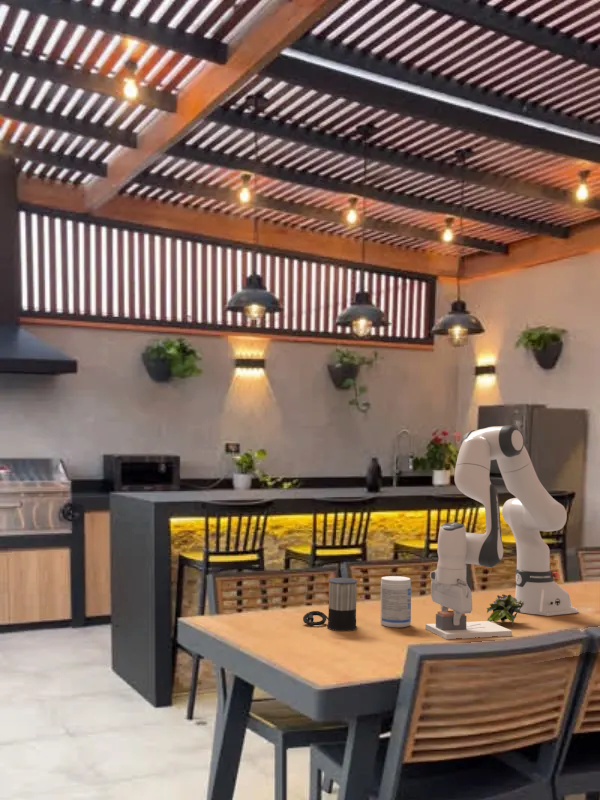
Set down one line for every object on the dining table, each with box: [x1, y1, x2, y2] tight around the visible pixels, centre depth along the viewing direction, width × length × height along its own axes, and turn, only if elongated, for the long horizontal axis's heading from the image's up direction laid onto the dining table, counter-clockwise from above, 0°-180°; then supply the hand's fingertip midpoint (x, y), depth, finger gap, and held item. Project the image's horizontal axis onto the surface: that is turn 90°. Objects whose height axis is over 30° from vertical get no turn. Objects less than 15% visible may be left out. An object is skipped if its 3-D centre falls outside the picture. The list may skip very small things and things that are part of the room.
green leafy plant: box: [486, 593, 524, 627], centre depth 270 cm, size 11×11×12 cm
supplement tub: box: [380, 575, 412, 628], centre depth 265 cm, size 10×10×15 cm
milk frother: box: [302, 577, 358, 632], centre depth 261 cm, size 14×16×15 cm
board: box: [424, 620, 513, 640], centre depth 257 cm, size 22×14×2 cm, turn 107°
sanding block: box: [435, 610, 467, 630], centre depth 255 cm, size 8×4×5 cm, turn 106°
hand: (450, 622), depth 255 cm, fingers closed on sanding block, 5 cm apart
